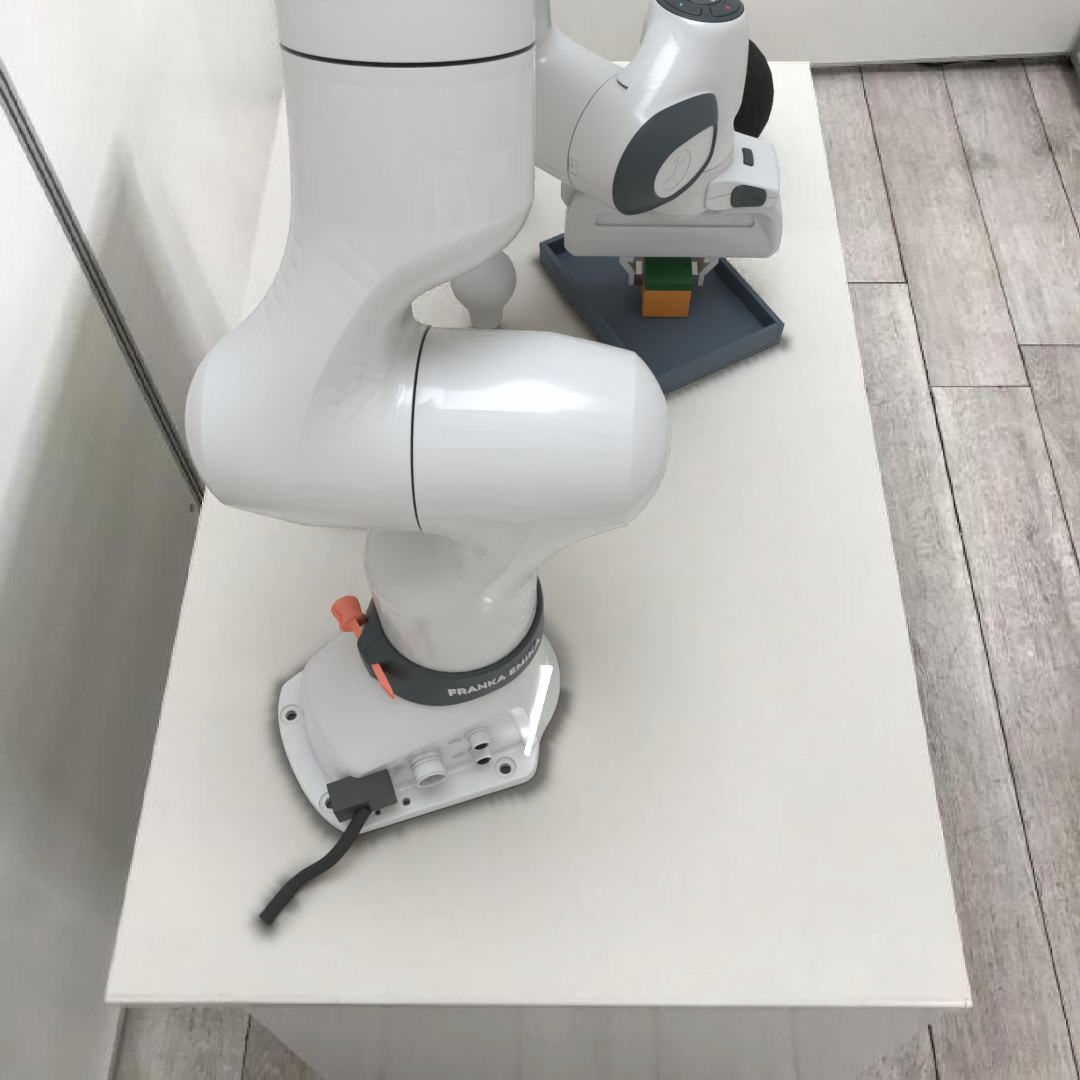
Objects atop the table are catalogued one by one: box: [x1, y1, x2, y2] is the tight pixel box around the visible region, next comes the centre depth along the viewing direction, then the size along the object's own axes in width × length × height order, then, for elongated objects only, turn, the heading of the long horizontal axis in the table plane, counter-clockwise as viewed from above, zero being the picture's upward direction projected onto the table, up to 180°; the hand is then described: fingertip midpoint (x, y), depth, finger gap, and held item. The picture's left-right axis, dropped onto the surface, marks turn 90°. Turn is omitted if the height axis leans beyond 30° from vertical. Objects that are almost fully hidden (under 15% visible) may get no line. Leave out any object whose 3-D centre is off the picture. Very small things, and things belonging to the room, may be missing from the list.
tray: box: [538, 232, 785, 395], centre depth 106 cm, size 15×21×3 cm
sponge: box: [641, 257, 693, 317], centre depth 105 cm, size 7×4×5 cm, turn 178°
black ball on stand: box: [733, 38, 775, 139], centre depth 111 cm, size 13×13×15 cm
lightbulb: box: [449, 250, 517, 330], centre depth 100 cm, size 6×6×11 cm
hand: (665, 281), depth 105 cm, fingers closed on sponge, 4 cm apart
